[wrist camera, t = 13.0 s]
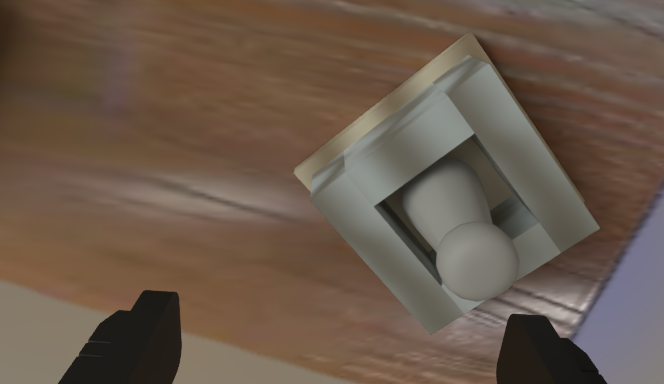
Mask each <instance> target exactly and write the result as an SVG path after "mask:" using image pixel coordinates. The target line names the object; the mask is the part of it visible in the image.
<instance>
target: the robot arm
mask: <svg viewBox="0 0 664 384" xmlns="http://www.w3.org/2000/svg"><path fill="white" fill-rule="evenodd" d="M181 347H182V341H181V324H180V306H179V296H178V293H177V292H167V291H151V290H145V291H143V292H142V294H141V295H140V297H139V298H138V300H137V301H136V303H135V305H134V306H133V308H132V309H131V311H124V310H118V311H117V312H115V313H114V314H112V315H111V316H110V317H108V318H107V319H105V320H104V321H103V322H102V323H100V324H99V326H98V327H97V328H96V330H95V332H94V333H93V334H92V336H91V337H90V339H89V341H88V343H86V344H85V346H84V347H83V348H82V350H81V351H80V353H79V357H76V359H75V360H74V362H73V363H72V365H71V366H70V367H69V368H68V370H67V371H66V373H65V374H64V376H63V377H62V379H61V380H60V381H59V383H58V384H172V382H173V380H174V378H175V375H176V373H177V370H178V367H179V363H180V357H181V349H182V348H181ZM496 377H497V384H607V383H606V381H605V380H604V378H603V377H602V376H601V375H599V373H598V369H597V368H596V367H595V365H594V364H593V362H592V361H591V359H590V358H589V356H588V355H587V354H586V353H585V352H584V351H583V350H581V349H580V348H579V347H578V346H577V345H575V344H574V343H573V342H572V341H570V340H569V339H568V338H560V337H559V335H558V334H557V332H556V331H555V329H554V328H553V326H552V324H551V323H550V321H549V320H548V318H547V317H545V316H543V315H526V314H511V315H510V317H509V319H508V322H507V326H506V330H505V334H504V338H503V342H502V346H501V350H500V354H499V358H498V362H497V369H496Z"/></svg>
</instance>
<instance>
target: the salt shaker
mask: <svg viewBox="0 0 664 384" xmlns="http://www.w3.org/2000/svg"><path fill="white" fill-rule="evenodd" d="M402 206H403V208H404V211H405V213H406V215H407V217H408V219H409V221H410V222H411V223H412V224H413V225H414V226H415V228H416V229H417V230H418V231H419V232H420V234H421V235H422V236H423V237H424V238H425V239H426V241H427V242H428V243H429V244H430V245H431V247H432V248H433V249H434V250H435V251H436V252H437V259H436V266H437V269H438V272H439V274H440V276H441V279H442V281H443V283H444V285H445V286H446V287H447V289H448V290H449V291H451V292H452V293H454V294H455V295H457V296H458V297H460V298H461V299H466V300H471V301H476V302H478V301H483V300H488V299H492V298H495V297H497V296H498V295H500V294H501V293H503V292H505V291H506V290H508V289H509V288H510V286H511V285H512V283H513V282H514V280H515V279H516V277H517V276H518V270H519V264H520V259H519V256H518V253H517V251H516V249H515V246H514V244H513V241H512V240H511V238H510V237H509V236H508V235H507V234H505V233H504V232H503V231H502V230H500V229H499V228H498V227H497V226H495V225H493V223H492V219H491V215H490V211H489V207H488V204H487V200H486V196H485V192H484V188H483V186H482V183H481V181H480V179H479V177H478V174H477V172H476V171H474V170H473V169H472V168H471V167H470V166H469V165H467V164H466V163H465V162H464V161H462V160H459V159H454V158H448V157H441V158H440V159H438V160H437V161H436V162H434V163H433V164H432V165H430V166H429V167H427V168H426V169H425V170H423V171H422V172H421V173H419V174H418V175H416V176H415V177H414V178H412V179H411V180H410V181H408V182H407V183H405V184H404V185H403V190H402Z"/></svg>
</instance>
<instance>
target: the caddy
mask: <svg viewBox="0 0 664 384" xmlns="http://www.w3.org/2000/svg"><path fill="white" fill-rule="evenodd" d="M441 157H448V158H454V159H459V160H462V161H464V162H465V163H466V164H467V165H469V166H470V167H471V168H472V169H473V170H474V171H476V172H477V174H478V177H479V179H480V181H481V183H482V186H483V188H484V192H485V196H486V200H487V204H488V207H489V211H490V215H491V219H492V223H493V225H495V226H497V227H498V228H499V229H500V230H502V231H503V232H504V233H505V234H507V235H508V236H509V237H510V238H511V240H512V241H513V244H514V246H515V249H516V251H517V253H518V256H519V259H520V264H519V270H518V276H517V277H516V279H515V280H514V282H516V281H518V280H519V279H521V278H522V277H524V276H525V275H527V274H529V273H530V272H532V271H533V270H535V269H537V268H538V267H540V266H541V265H543V264H545V263H546V262H548V261H549V260H551V259H553V258H554V257H556V256H557V255H559V254H560V253H562V252H564V251H565V250H567V249H568V248H570V247H572V246H573V245H575V244H576V243H578V242H580V241H581V240H583V239H584V238H586V237H587V236H589V235H591V234H592V233H594V232H595V231H597V230H599V229H600V227H599V226H598V224H597V223H596V221H595V220H594V218H593V217H592V215H591V214H590V212H589V211H588V209H587V208H586V206H585V205H584V204H583V203H584V202H585V200H584V199H583V197H582V196H581V194H580V193H579V191H578V190H577V188H576V187H575V185H574V184H573V182H572V181H571V179H570V178H569V176H568V175H567V173H566V172H565V170H564V169H563V168H562V166H561V165H560V163H559V162H558V160H557V159H556V157H555V156H554V154H553V153H552V151H551V150H550V148H549V147H548V145H547V144H546V142H545V141H544V139H543V138H542V136H541V135H540V133H539V132H538V130H537V129H536V127H535V126H534V124H533V123H532V121H531V120H530V118H529V117H528V115H527V114H526V112H525V111H524V110H523V108H522V107H521V105H520V104H519V102H518V101H517V99H516V98H515V96H514V95H513V93H512V92H511V90H510V89H509V87H508V86H507V84H506V83H505V81H504V80H503V78H502V77H501V75H500V74H499V72H498V71H497V69H496V68H495V66H494V65H493V63H492V62H491V60H490V59H489V57H488V56H487V54H486V53H485V52H484V50H483V49H482V47H481V46H480V44H479V43H478V41H477V40H476V38H475V37H474V35H473V34H472V33H469V32H468V33H466V34H465V35H464V36H462V37H461V38H460V39H459V40H457V41H456V42H455V43H454V44H452V45H451V46H450V47H448V48H447V49H446V50H445V51H443V52H442V53H441V54H440V55H438V56H437V57H436V58H434V59H433V60H432V61H431V62H429V63H428V64H427V65H426V66H424V67H423V68H422V69H420V70H419V71H418V72H417V73H415V74H414V75H413V76H411V77H410V78H409V79H408V80H406V81H405V82H404V83H403V84H401V85H400V86H399V87H397V88H396V89H395V90H394V91H392V92H391V93H390V94H389V95H387V96H386V97H385V98H383V99H382V100H381V101H380V102H378V103H377V104H376V105H375V106H373V107H372V108H371V109H369V110H368V111H367V112H366V113H364V114H363V115H362V116H361V117H359V118H358V119H357V120H355V121H354V122H353V123H352V124H350V125H349V126H348V127H346V128H345V129H344V130H343V131H341V132H340V133H339V134H338V135H336V136H335V137H334V138H332V139H331V140H330V141H329V142H327V143H326V144H325V145H324V146H322V147H321V148H320V149H318V150H317V151H316V152H315V153H313V154H312V155H311V156H310V157H308V158H307V159H306V160H304V161H303V162H302V163H301V164H299V165H298V166H297V167H296V168H295V170H294V174H295V175H296V176H297V177H298V178H299V179H300V181H301V182H302V183H303V184H304V185H305V186H306V187H307V188H308V190H309V191H310V192H311V195H310V201H311V202H312V203H313V205H314V206H315V207H316V208H317V209H318V210H319V211H320V212H321V213H322V215H323V216H324V217H325V218H326V219H327V220H328V221H329V222H330V223H331V225H332V226H333V227H334V228H335V229H336V230H337V231H338V232H339V234H340V235H341V236H342V237H343V238H344V239H345V240H346V241H347V242H348V244H349V245H350V246H351V247H352V248H353V249H354V250H355V251H356V252H357V254H358V255H359V256H360V257H361V258H362V259H363V260H364V261H365V263H366V264H367V265H368V266H369V267H370V268H371V269H372V270H373V271H374V273H375V274H376V275H377V276H378V277H379V278H380V279H381V280H382V281H383V283H384V284H385V285H386V286H387V287H388V288H389V289H390V290H391V291H392V293H393V294H394V295H395V296H396V297H397V298H398V299H399V300H400V302H401V303H402V304H403V305H404V306H405V307H406V308H407V309H408V310H409V312H410V313H411V314H412V315H413V316H414V317H415V318H416V319H417V320H418V322H419V323H420V324H421V325H422V326H423V327H424V328H425V329H426V330H427V332H428V333H429V334H430V335H432V334H433V333H435V332H436V331H438V330H440V329H441V328H443V327H444V326H446V325H448V324H449V323H451V322H452V321H454V320H456V319H457V318H459V317H460V316H462V315H464V314H465V313H467V312H468V311H470V310H471V309H473V308H475V307H476V306H478V305H479V304H481V303H483V302H484V301H486V300H483V301H478V302H476V301H471V300H466V299H461V298H460V297H458V296H457V295H455V294H454V293H452V292H451V291H449V290H448V289H447V287H446V286H445V285H444V283H443V281H442V279H441V276H440V274H439V272H438V269H437V266H436V259H437V252H436V251H435V250H434V249H433V248H432V247H431V245H430V244H429V243H428V242H427V241H426V239H425V238H424V237H423V236H422V235H421V234H420V232H419V231H418V230H417V229H416V228H415V226H414V225H413V224H412V223H411V222H410V221H409V219H408V217H407V215H406V213H405V211H404V208H403V206H402V190H403V185H404V184H405V183H407V182H408V181H410V180H411V179H412V178H414V177H415V176H416V175H418V174H419V173H421V172H422V171H423V170H425V169H426V168H427V167H429V166H430V165H432V164H433V163H434V162H436V161H437V160H438V159H440V158H441ZM514 282H513V283H514ZM513 283H512V284H513Z"/></svg>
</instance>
